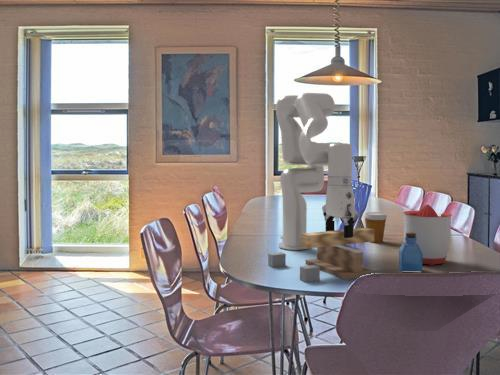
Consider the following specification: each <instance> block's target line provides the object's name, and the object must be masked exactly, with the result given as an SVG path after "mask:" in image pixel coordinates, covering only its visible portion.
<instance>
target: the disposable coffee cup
mask: <svg viewBox="0 0 500 375" xmlns="http://www.w3.org/2000/svg"><path fill="white" fill-rule="evenodd" d="M363 218H364V223H365V228H371V229H374V241H373V242H371V243H373V244H376V243H377V244H379V243H383V242H384V235H385V229H386V228H385V227H386V222H387V218H388V216H387V213H385V212H378V211H376V212H375V211H374V212H373V211H372V212H371V211H369V212H365V213H364V216H363Z"/></svg>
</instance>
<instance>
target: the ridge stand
mask: <svg viewBox="0 0 500 375" xmlns="http://www.w3.org/2000/svg"><path fill="white" fill-rule="evenodd" d="M363 254H364V253H363V251H362V248H359V247H355V246H351V245H349V244H346V245H337V246H328V247H318V248H317V249H316V258H311V259H306V260H305V266H308V265H316V266H319V267H320V271H321V272H324V273H327V274H329V275H332V276H334V277H337V278H340V279H343V280H344V281H348V280H356V278H357V277H360V276H362V275H366V274H371V273H375V274H376V270H374V269H370V268H367V267H364V264H363V262H364V261H363V258H364V256H363ZM357 279H358V278H357Z"/></svg>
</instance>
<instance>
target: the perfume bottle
mask: <svg viewBox="0 0 500 375" xmlns="http://www.w3.org/2000/svg"><path fill="white" fill-rule="evenodd" d="M416 239H417V238H416V233H406V237H405V240H406V243H404V242H402V244H401V246H400V247H399V249H398V269H399V271H400V272H401V271H422V272H423V264H422V252H421V250H420V248H419V246H418V244H417V243H415V241H416Z"/></svg>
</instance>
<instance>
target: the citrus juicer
mask: <svg viewBox="0 0 500 375" xmlns="http://www.w3.org/2000/svg"><path fill="white" fill-rule="evenodd" d="M403 214H404V215H403V216H404V217H403V219H404V220H403V243H406V240H405V237H406V233H416V238H417V239H416V241H415V243H417V244H418V246H419V248H420V250H421V252H422V265H423V264H424V265H428V264H429V265H428V266H434V265H441V264H444V263H445V261H446V259H447V257H448V256H447V255H448V253H449V251H450V247H451V235H452V234H451V230H452V229H451V228H452V227H451V225H452V216H453V214H452V213H450V212H443V213H441V214H440V215H439V216H438V214H437V211H435V209H434V208H433V207H432V206H431V205H430V204H425V205H424V206H423V207H421V209H420V210H406V211H405V210H404V211H403Z"/></svg>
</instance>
